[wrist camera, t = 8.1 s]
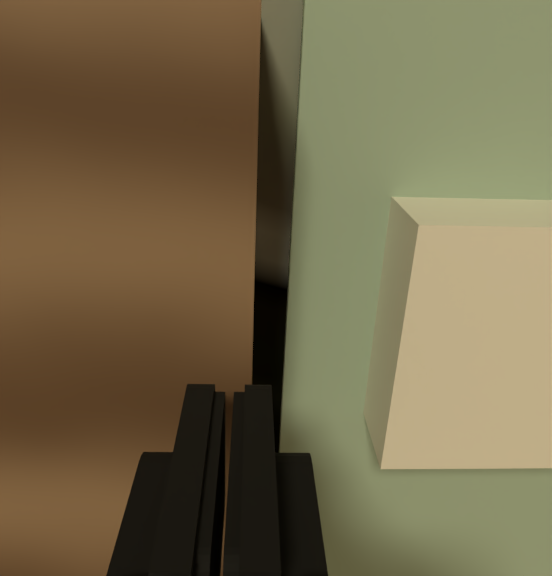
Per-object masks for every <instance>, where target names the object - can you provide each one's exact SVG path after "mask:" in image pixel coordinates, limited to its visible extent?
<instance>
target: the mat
mask: <svg viewBox="0 0 552 576" xmlns="http://www.w3.org/2000/svg"><path fill="white" fill-rule="evenodd" d="M391 197H428V198H476V199H523V200H552V0H303V17H302V35H301V53H300V71H299V89H298V107H297V126H296V144H295V162H294V180H293V198H292V216H291V235H290V253H289V271H288V289H287V307H286V325H285V344H284V362H283V380H282V398H281V416H280V434H279V453H310V455H311V459H312V464H313V472H314V479H315V486H316V493H317V500H318V507H319V514H320V521H321V528H322V535H323V542H324V549H325V557H326V564H327V571H328V576H552V468H512V469H380V466H379V463H378V459H377V456H376V453H375V450H374V446H373V443H372V440H371V437H370V433H369V430H368V427H367V423H366V420H365V417H364V414H363V411H364V404H365V396H366V388H367V381H368V373H369V365H370V357H371V350H372V342H373V334H374V327H375V319H376V311H377V304H378V296H379V288H380V280H381V273H382V265H383V257H384V250H385V242H386V234H387V227H388V219H389V211H390V203H391Z"/></svg>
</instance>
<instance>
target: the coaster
mask: <svg viewBox="0 0 552 576" xmlns="http://www.w3.org/2000/svg"><path fill="white" fill-rule="evenodd" d="M363 414H364V417H365V420H366V423H367V427H368V430H369V433H370V437H371V440H372V443H373V446H374V450H375V453H376V456H377V459H378V463H379V466H380V469H512V468H552V200H523V199H476V198H428V197H391V203H390V211H389V219H388V227H387V234H386V242H385V250H384V257H383V265H382V273H381V280H380V288H379V296H378V304H377V311H376V319H375V327H374V334H373V342H372V350H371V357H370V365H369V373H368V381H367V388H366V396H365V404H364V411H363Z"/></svg>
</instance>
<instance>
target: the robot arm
mask: <svg viewBox="0 0 552 576" xmlns="http://www.w3.org/2000/svg"><path fill="white" fill-rule="evenodd" d="M224 513H225V392H215V384H187V387H186V391H185V396H184V401H183V406H182V410H181V415H180V420H179V425H178V430H177V435H176V439H175V444H174V449H173V452H143V453H142V455H141V457H140V460H139V463H138V466H137V470H136V473H135V477H134V480H133V484H132V487H131V491H130V494H129V498H128V501H127V505H126V508H125V512H124V515H123V519H122V522H121V526H120V529H119V533H118V536H117V540H116V543H115V547H114V550H113V554H112V557H111V561H110V564H109V568H108V571H107V575H106V576H220V573H221V558H222V543H223V528H224ZM223 576H328V571H327V564H326V557H325V549H324V542H323V535H322V528H321V521H320V514H319V507H318V500H317V493H316V486H315V479H314V472H313V464H312V459H311V455H310V453H275V441H274V421H273V401H272V385H245V392H234V396H233V412H232V428H231V444H230V460H229V476H228V492H227V508H226V524H225V540H224V557H223Z"/></svg>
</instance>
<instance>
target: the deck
mask: <svg viewBox="0 0 552 576" xmlns="http://www.w3.org/2000/svg"><path fill="white" fill-rule="evenodd" d="M260 32H261V0H0V576H106V575H107V571H108V568H109V564H110V561H111V557H112V554H113V550H114V547H115V543H116V540H117V536H118V533H119V529H120V526H121V522H122V519H123V515H124V512H125V508H126V505H127V501H128V498H129V494H130V491H131V487H132V484H133V480H134V477H135V473H136V470H137V466H138V463H139V460H140V457H141V455H142V453H143V452H173V449H174V444H175V439H176V435H177V430H178V425H179V420H180V415H181V410H182V406H183V401H184V396H185V391H186V387H187V384H215V392H225V513H224V528H223V543H222V558H221V573H220V576H223V557H224V540H225V524H226V508H227V492H228V476H229V460H230V444H231V428H232V412H233V396H234V392H245V385H252V360H253V319H254V278H255V237H256V196H257V155H258V114H259V73H260Z"/></svg>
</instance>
